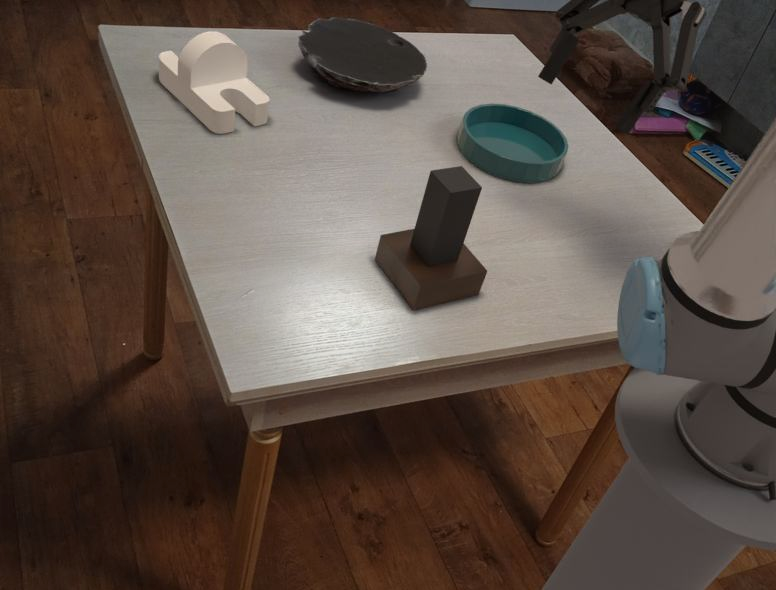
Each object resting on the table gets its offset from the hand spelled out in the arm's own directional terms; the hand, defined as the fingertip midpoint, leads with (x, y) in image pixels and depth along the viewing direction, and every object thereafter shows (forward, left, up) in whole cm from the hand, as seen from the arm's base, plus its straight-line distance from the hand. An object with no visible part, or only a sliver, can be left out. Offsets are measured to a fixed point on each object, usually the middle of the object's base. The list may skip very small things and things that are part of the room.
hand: (581, 105), depth 107 cm
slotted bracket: (+40, +34, -19) cm, 56 cm away
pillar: (-6, +22, -15) cm, 28 cm away
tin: (+17, -8, -19) cm, 27 cm away
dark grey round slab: (+43, +6, -19) cm, 48 cm away
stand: (-6, +22, -19) cm, 30 cm away
